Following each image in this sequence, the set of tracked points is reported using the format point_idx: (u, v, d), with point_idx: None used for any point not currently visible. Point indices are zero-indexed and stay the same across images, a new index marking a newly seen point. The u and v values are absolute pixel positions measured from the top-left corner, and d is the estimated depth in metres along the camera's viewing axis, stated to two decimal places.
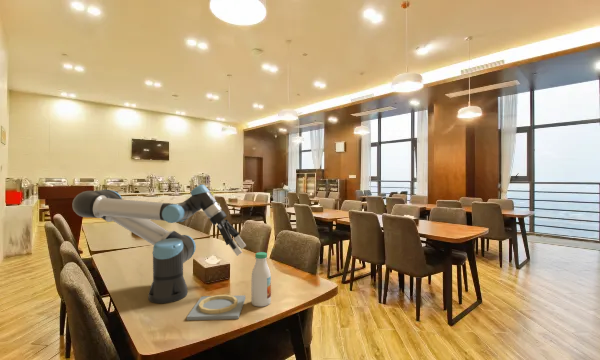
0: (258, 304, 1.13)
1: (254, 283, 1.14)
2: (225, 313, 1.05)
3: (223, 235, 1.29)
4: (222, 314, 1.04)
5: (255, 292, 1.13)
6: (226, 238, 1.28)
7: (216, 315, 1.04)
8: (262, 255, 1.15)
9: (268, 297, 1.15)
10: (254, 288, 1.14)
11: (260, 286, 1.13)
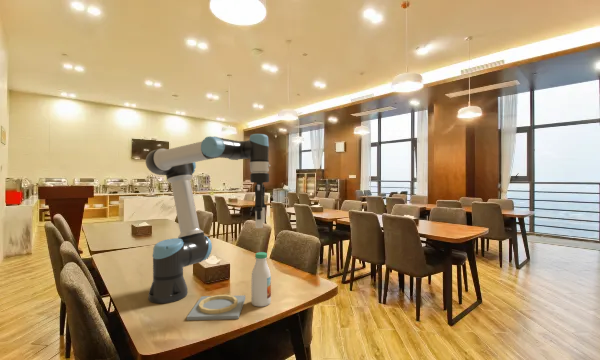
0: (258, 304, 1.13)
1: (254, 283, 1.14)
2: (225, 313, 1.05)
3: (256, 199, 1.09)
4: (222, 314, 1.04)
5: (255, 292, 1.13)
6: (258, 204, 1.08)
7: (216, 315, 1.04)
8: (262, 255, 1.15)
9: (268, 297, 1.15)
10: (254, 288, 1.14)
11: (260, 286, 1.13)
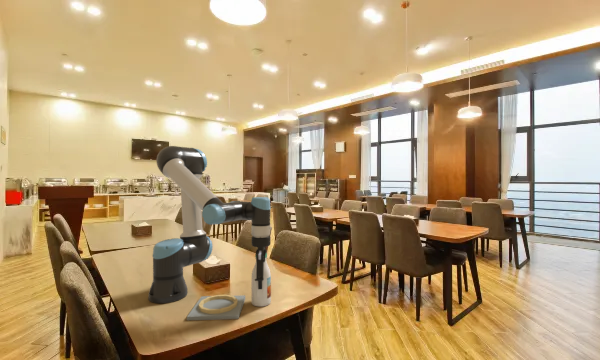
0: (258, 304, 1.13)
1: (254, 283, 1.14)
2: (225, 313, 1.05)
3: (258, 269, 1.10)
4: (222, 314, 1.04)
5: (255, 292, 1.13)
6: (259, 275, 1.09)
7: (216, 315, 1.04)
8: None
9: (268, 297, 1.15)
10: (254, 288, 1.14)
11: None
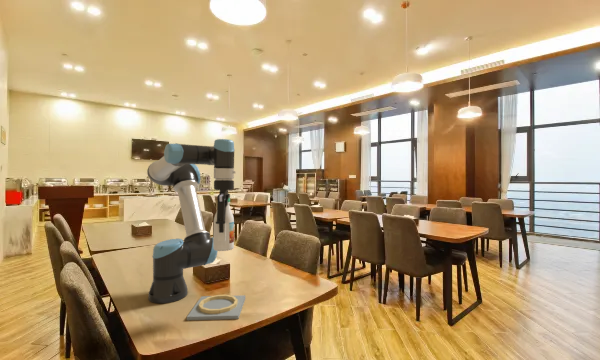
0: (219, 248, 1.09)
1: (216, 227, 1.10)
2: (225, 313, 1.05)
3: (218, 211, 1.06)
4: (222, 314, 1.04)
5: (217, 236, 1.10)
6: (220, 217, 1.06)
7: (216, 315, 1.04)
8: None
9: (230, 242, 1.11)
10: (216, 232, 1.10)
11: None
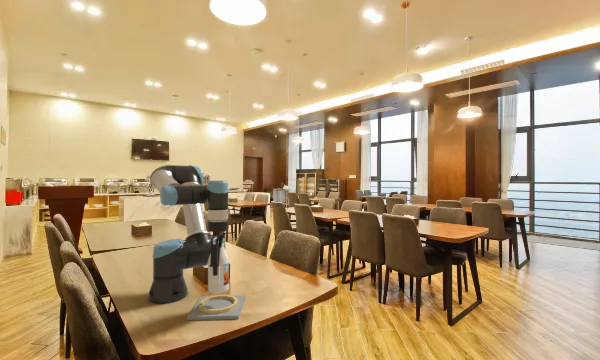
0: (214, 291, 1.08)
1: (210, 269, 1.09)
2: (225, 313, 1.05)
3: (212, 255, 1.05)
4: (222, 314, 1.04)
5: (211, 278, 1.09)
6: (213, 261, 1.05)
7: (216, 315, 1.04)
8: None
9: (225, 284, 1.10)
10: (210, 275, 1.09)
11: None
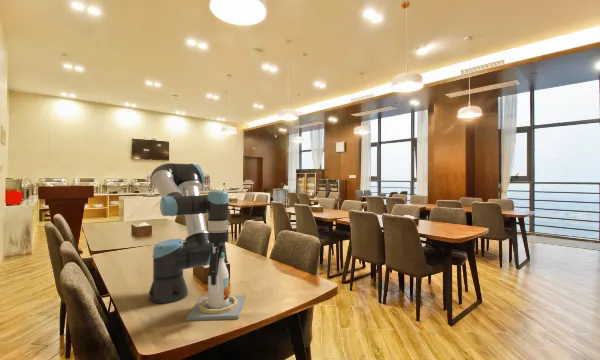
0: (214, 306, 1.08)
1: None
2: (225, 313, 1.05)
3: (211, 263, 1.03)
4: (222, 314, 1.04)
5: None
6: (212, 269, 1.02)
7: (216, 315, 1.04)
8: None
9: (225, 299, 1.10)
10: None
11: None
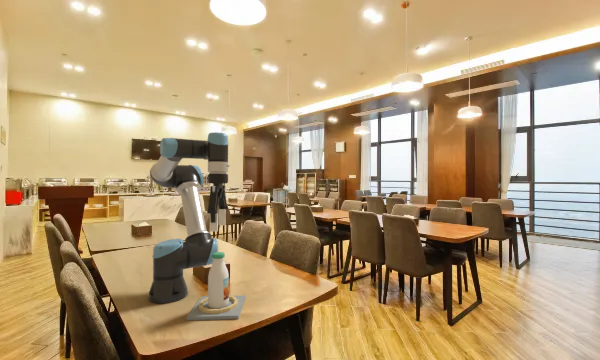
0: (214, 306, 1.08)
1: (210, 284, 1.09)
2: (225, 313, 1.05)
3: (210, 201, 1.04)
4: (222, 314, 1.04)
5: (211, 293, 1.09)
6: (211, 206, 1.03)
7: (216, 315, 1.04)
8: (219, 255, 1.10)
9: (225, 299, 1.10)
10: (210, 289, 1.09)
11: (216, 287, 1.08)
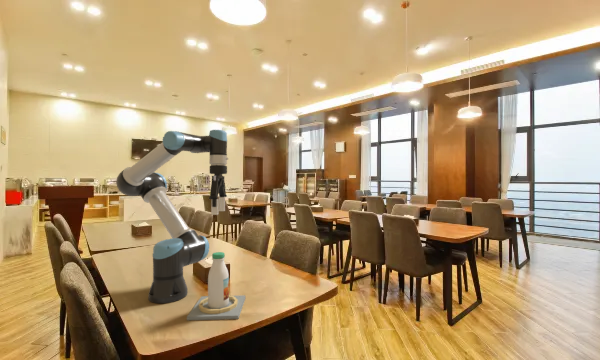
0: (214, 306, 1.08)
1: (210, 284, 1.09)
2: (225, 313, 1.05)
3: (212, 188, 1.21)
4: (222, 314, 1.04)
5: (211, 294, 1.09)
6: (213, 192, 1.20)
7: (216, 315, 1.04)
8: (219, 255, 1.10)
9: (225, 299, 1.10)
10: (210, 290, 1.09)
11: (216, 287, 1.08)
